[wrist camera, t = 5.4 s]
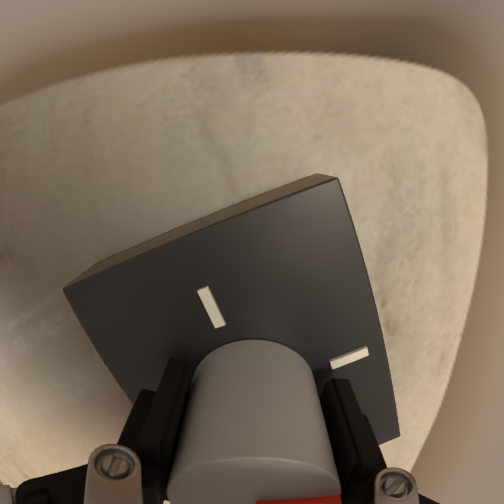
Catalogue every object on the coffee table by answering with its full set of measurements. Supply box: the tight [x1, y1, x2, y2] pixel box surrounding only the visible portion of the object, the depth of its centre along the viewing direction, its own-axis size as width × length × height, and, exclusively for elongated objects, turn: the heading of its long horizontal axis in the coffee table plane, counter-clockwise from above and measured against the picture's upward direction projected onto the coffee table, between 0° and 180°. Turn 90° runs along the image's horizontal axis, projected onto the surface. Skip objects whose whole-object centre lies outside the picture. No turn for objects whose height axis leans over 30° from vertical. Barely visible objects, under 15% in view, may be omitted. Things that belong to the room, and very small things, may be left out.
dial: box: [166, 340, 342, 504], centre depth 9 cm, size 4×4×5 cm
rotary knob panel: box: [63, 174, 400, 445], centre depth 12 cm, size 12×10×3 cm
